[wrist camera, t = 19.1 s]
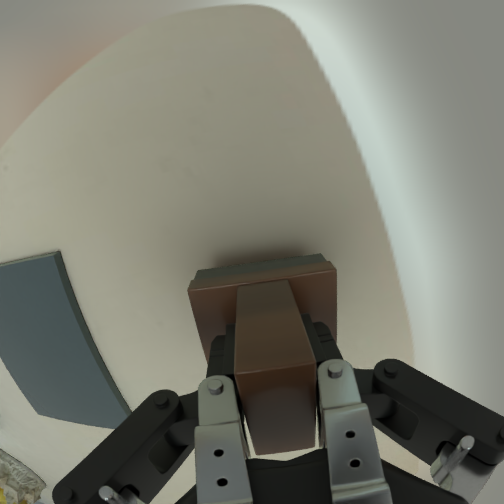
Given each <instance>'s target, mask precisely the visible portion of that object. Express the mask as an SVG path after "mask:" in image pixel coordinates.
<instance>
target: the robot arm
mask: <svg viewBox="0 0 504 504" xmlns="http://www.w3.org/2000/svg"><path fill="white" fill-rule="evenodd" d="M300 315H301V318H302V321H303V324H304V327H305V330H306V333H307V336H308V339H309V341H310V344H311V347H312V350H313V353H314V356H315V359H316V407H317V426H318V439H319V449H317V450H314V451H312V452H309V453H307V454H304V455H302V456H299V457H297V458H294V459H291V460H288V461H280V460H268V459H258V458H253V459H251V455H250V450H249V445H248V440H247V434H246V429H245V424H244V411H243V407H242V403H241V399H240V395H239V392H238V388H237V384H236V380H235V376H234V354H235V326H236V323H231V324H226V333H225V335H217V336H216V337H215V338H214V340H213V341H212V342H211V347H210V354H209V361H208V368H207V375H206V379H204V380H203V381H202V382H201V383H200V385H199V387H198V390H197V391H195V392H193V393H190V394H186V395H183V396H178V395H177V393H175V392H174V391H171V390H159V391H156V392H154V393H152V394H151V395H150V396H149V397H148V398H147V399H145V400H144V401H143V402H142V403H141V404H140V405H139V406H138V407H137V408H136V409H135V410H134V411H133V412H132V413H131V414H130V415H129V416H128V417H127V418H126V419H125V420H124V421H123V422H122V423H121V424H120V425H119V426H118V427H117V428H116V429H115V430H114V431H113V432H112V433H111V434H110V435H109V436H108V437H107V438H106V439H105V440H104V441H102V442H101V443H100V444H99V445H98V446H97V447H96V448H95V449H94V450H93V451H92V452H91V453H90V454H89V455H88V456H87V457H86V458H85V459H83V460H82V461H81V462H80V463H79V464H78V465H77V466H76V467H75V468H74V469H73V470H72V471H71V472H69V473H68V474H67V475H66V476H65V477H64V478H63V479H62V480H61V481H60V482H59V483H57V485H56V486H55V487H54V489H53V492H52V498H53V501H54V503H55V504H149V503H150V502H151V501H152V500H153V498H154V497H155V496H156V495H157V494H158V493H159V491H160V490H161V489H162V488H163V487H164V485H165V484H166V483H167V482H168V481H169V479H170V478H171V477H172V476H173V474H174V473H175V472H176V471H177V470H178V468H179V467H180V466H181V465H182V463H183V462H184V461H185V459H186V458H187V457H188V456H189V454H190V453H191V452H192V451H193V449H194V448H195V467H196V484H195V485H194V486H193V487H192V488H191V489H190V490H189V491H188V492H187V493H186V494H185V495H184V496H182V497H181V498H180V499H179V500H178V501H177V502H176V503H175V504H471V503H472V502H473V501H474V499H475V498H476V497H477V495H478V494H479V492H480V491H481V490H482V488H483V487H484V485H485V483H486V482H487V481H488V479H489V478H490V476H491V474H492V473H493V471H494V470H495V469H496V468H497V467H498V466H499V464H500V463H501V462H502V461H503V460H504V417H503V416H501V415H499V414H497V413H496V412H494V411H492V410H490V409H488V408H486V407H484V406H482V405H480V404H479V403H477V402H475V401H473V400H471V399H469V398H467V397H465V396H464V395H462V394H460V393H458V392H456V391H454V390H452V389H451V388H449V387H447V386H445V385H443V384H442V383H440V382H438V381H436V380H434V379H432V378H431V377H429V376H427V375H425V374H423V373H421V372H420V371H418V370H416V369H414V368H413V367H411V366H409V365H407V364H406V363H404V362H402V361H400V360H397V359H385V360H382V361H380V362H378V363H377V364H376V366H375V367H374V369H356V368H353V367H352V366H351V364H350V363H349V362H347V361H345V360H343V358H342V355H341V353H340V351H339V349H338V347H337V345H336V342H335V340H334V338H333V336H332V335H331V332H330V329H329V327H328V326H327V325H326V324H324V323H323V322H321V321H319V322H312V320H311V317H310V315H309V313H304V314H300ZM373 426H375V427H376V428H377V429H379V430H380V431H382V432H383V433H384V434H386V435H387V436H388V437H390V438H391V439H392V440H394V441H395V442H397V443H398V444H399V445H401V446H402V447H404V448H405V449H406V450H408V451H409V452H411V453H412V454H414V455H415V456H417V457H418V458H419V459H421V460H422V461H424V462H425V463H427V464H428V465H430V466H431V468H430V472H431V476H432V478H433V481H434V482H435V483H438V484H439V487H438V486H436V485H434V484H431V483H429V482H427V481H425V480H422V479H420V478H418V477H416V476H414V475H412V474H410V473H408V472H406V471H404V470H402V469H400V468H398V467H396V466H394V465H392V464H390V463H388V462H386V461H384V460H383V459H381V458H380V454H379V450H378V446H377V441H376V437H375V433H374V429H373Z"/></svg>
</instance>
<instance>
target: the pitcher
mask: <svg viewBox="0 0 504 504" xmlns="http://www.w3.org/2000/svg"><path fill="white" fill-rule="evenodd" d="M3 492H4V489H2V488H1V487H0V504H6V503H7V501H6V500H5V498H6V497H5V496H4V495H3V494H4V493H3ZM13 504H17V503H15V502H14V503H13ZM19 504H27V500H25V499H24V500H23V501H22V502H21V503H19Z"/></svg>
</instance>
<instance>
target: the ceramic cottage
mask: <svg viewBox="0 0 504 504" xmlns="http://www.w3.org/2000/svg"><path fill="white" fill-rule="evenodd" d="M45 485H46V484H45V483H44V482H43V481H42V480H41V478H39V477H38V476H37V475H36V474H35V473H34V472H33V471H31V470H30V469H29V468H28V467H26V466H24V465H23V464H22V463H21V462H19V461H17V460H16V459H15V458H13V457H11V456H10V455H8V454H7V453H5V452H4V451H3V450H1V449H0V487H1V488H2V489H4V492H3V493H4V494H3V495H4V496H5V497H6V498H5V500H6V501H7V503H6V504H13V503H14V502H15V503H17V504H19V503H21V502H22V501H23V500H24V499H25V500H27V504H31V503H33V504H34V503H35V502H36V501H37V500H39V499H41V497H40V494H41V491H42V490H43V489H44V488H45V487H46V486H45Z"/></svg>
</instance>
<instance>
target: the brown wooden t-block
mask: <svg viewBox="0 0 504 504" xmlns="http://www.w3.org/2000/svg"><path fill="white" fill-rule="evenodd" d="M187 291H188V295H189V299H190V303H191V307H192V311H193V314H194V318H195V322H196V326H197V329H198V333H199V336H200V340H201V343H202V347H203V350H204V354H205V357H206V361H207V364H208V361H209V354H210V347H211V342H212V341H213V340H214V338H215V337H216V336H217V335H225V333H226V324H231V323H236V326H235V354H234V376H235V380H236V384H237V388H238V392H239V395H240V399H241V403H242V407H243V411H244V415H245V418H246V422H247V426H248V429H249V433H250V436H251V440H252V444H253V447H254V451H255V454H256V455H266V454H275V453H282V452H289V451H296V450H302V449H308V448H313V447H315V434H316V359H315V356H314V353H313V350H312V347H311V344H310V341H309V339H308V336H307V333H306V330H305V327H304V324H303V321H302V318H301V315H300V314H304V313H309V315H310V317H311V320H312V322H319V321H321V322H323V323H324V324H326V325H327V326H328V327H329V329H330V332H331V335H332V336H333V338H334V340H335V342H336V343H337V270H336V268H335V267H334V266H333V264H332V263H331V262H330V261H326V259H325V258H324V257H323V255H322V254H321V253H319V254H312V255H305V256H298V257H291V258H284V259H277V260H270V261H263V262H256V263H249V264H242V265H234V266H227V267H220V268H212V269H205V270H198V271H197V273H196V276H195V278H194V280H191V282H190V285H189V287H188V290H187Z"/></svg>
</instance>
